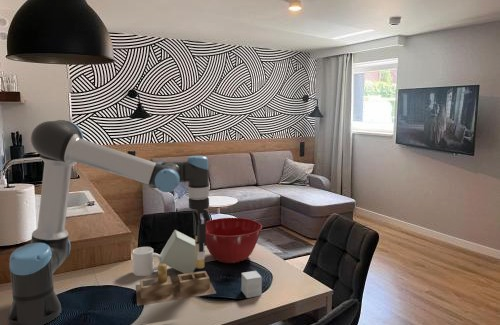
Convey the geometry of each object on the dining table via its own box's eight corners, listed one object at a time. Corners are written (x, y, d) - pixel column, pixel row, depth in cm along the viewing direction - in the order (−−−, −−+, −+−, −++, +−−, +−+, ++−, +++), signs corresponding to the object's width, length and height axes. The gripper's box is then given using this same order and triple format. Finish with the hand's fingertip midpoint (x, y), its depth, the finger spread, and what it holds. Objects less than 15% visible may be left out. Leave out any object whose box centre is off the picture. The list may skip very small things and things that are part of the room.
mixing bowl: (192, 251, 179) (192, 220, 177) (246, 243, 191) (246, 214, 189) (211, 275, 154) (211, 239, 152) (272, 263, 166) (272, 230, 164)
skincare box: (241, 290, 141) (241, 272, 140) (256, 288, 143) (256, 270, 142) (246, 298, 135) (246, 279, 134) (262, 295, 138) (262, 276, 137)
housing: (161, 262, 149) (176, 237, 149) (160, 253, 158) (174, 229, 158) (190, 276, 153) (205, 251, 153) (187, 266, 162) (201, 243, 162)
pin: (196, 268, 140) (196, 238, 138) (195, 265, 143) (194, 235, 141) (205, 267, 141) (204, 237, 139) (203, 264, 144) (202, 234, 142)
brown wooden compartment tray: (137, 308, 128) (136, 278, 126) (135, 287, 143) (134, 260, 141) (216, 295, 137) (216, 267, 135) (207, 277, 152) (206, 251, 150)
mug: (164, 269, 159) (163, 246, 158) (160, 278, 151) (160, 254, 150) (136, 269, 159) (135, 246, 157) (131, 278, 151) (130, 254, 149)
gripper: (213, 201, 132) (214, 264, 135) (204, 192, 147) (205, 249, 150) (192, 203, 129) (193, 267, 133) (185, 193, 144) (186, 251, 148)
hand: (200, 257), depth 141 cm, fingers closed on pin, 3 cm apart
